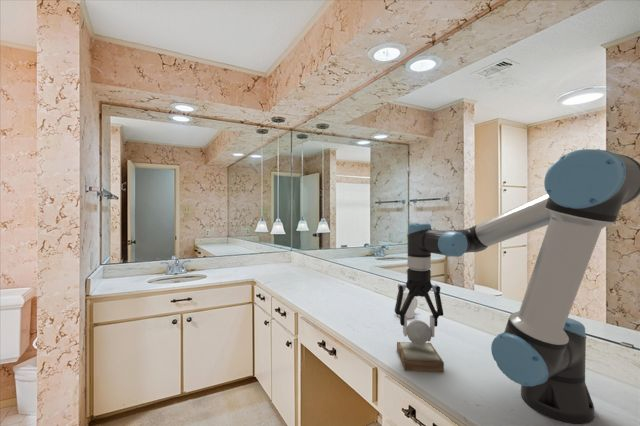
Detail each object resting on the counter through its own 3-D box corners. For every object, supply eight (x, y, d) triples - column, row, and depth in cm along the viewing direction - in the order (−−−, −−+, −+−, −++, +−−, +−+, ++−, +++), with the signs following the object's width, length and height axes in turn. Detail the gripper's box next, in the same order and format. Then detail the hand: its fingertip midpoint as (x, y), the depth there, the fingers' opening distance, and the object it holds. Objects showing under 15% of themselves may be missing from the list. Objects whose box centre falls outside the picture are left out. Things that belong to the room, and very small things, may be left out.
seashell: (414, 360, 104) (414, 340, 95) (396, 331, 113) (395, 310, 103) (435, 349, 106) (438, 328, 96) (417, 322, 114) (417, 300, 104)
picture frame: (443, 372, 95) (443, 361, 95) (404, 370, 96) (404, 360, 96) (430, 351, 109) (430, 342, 109) (396, 350, 110) (396, 341, 110)
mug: (410, 310, 152) (410, 290, 152) (423, 315, 145) (423, 294, 145) (392, 314, 146) (392, 293, 146) (405, 320, 139) (405, 298, 139)
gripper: (447, 266, 105) (446, 331, 105) (385, 265, 107) (385, 329, 107) (455, 271, 98) (454, 341, 98) (388, 270, 99) (388, 338, 99)
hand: (418, 335), depth 102 cm, fingers closed on seashell, 8 cm apart
